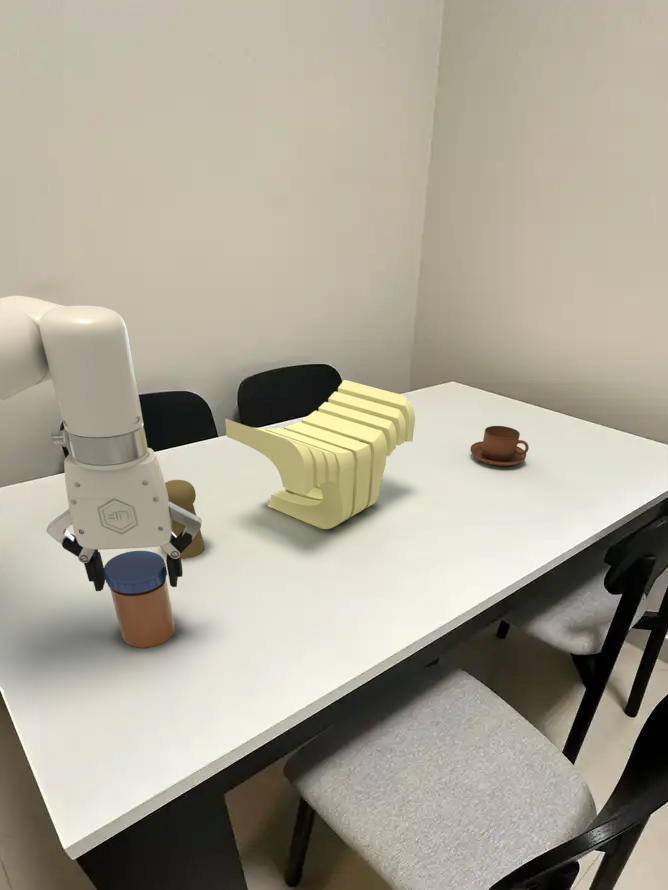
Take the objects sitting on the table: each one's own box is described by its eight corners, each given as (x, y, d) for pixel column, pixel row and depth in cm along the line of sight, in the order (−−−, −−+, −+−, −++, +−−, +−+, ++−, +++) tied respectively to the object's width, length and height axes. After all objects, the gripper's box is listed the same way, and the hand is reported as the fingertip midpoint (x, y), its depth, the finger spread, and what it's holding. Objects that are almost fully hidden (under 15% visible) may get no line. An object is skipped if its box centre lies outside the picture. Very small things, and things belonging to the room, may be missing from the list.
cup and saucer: (522, 452, 131) (529, 425, 127) (525, 473, 122) (533, 445, 118) (469, 446, 133) (474, 419, 129) (468, 467, 123) (473, 438, 119)
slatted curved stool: (305, 555, 92) (305, 446, 81) (233, 523, 99) (225, 418, 88) (406, 493, 112) (417, 399, 101) (340, 470, 119) (344, 379, 108)
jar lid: (161, 594, 68) (159, 581, 67) (99, 594, 67) (96, 581, 66) (171, 561, 73) (169, 550, 72) (114, 561, 73) (111, 550, 72)
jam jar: (116, 648, 73) (100, 586, 67) (127, 616, 78) (113, 556, 72) (170, 647, 73) (159, 585, 67) (178, 615, 78) (168, 556, 73)
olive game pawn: (164, 559, 89) (152, 493, 83) (167, 539, 94) (156, 475, 87) (204, 557, 90) (196, 491, 83) (205, 537, 95) (198, 474, 88)
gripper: (7, 458, 56) (55, 605, 66) (193, 455, 59) (210, 596, 69) (27, 430, 61) (68, 569, 72) (196, 428, 64) (211, 562, 75)
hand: (138, 582), depth 71 cm, fingers open, 8 cm apart
